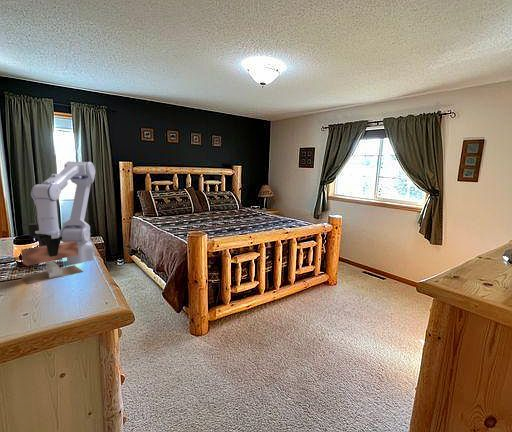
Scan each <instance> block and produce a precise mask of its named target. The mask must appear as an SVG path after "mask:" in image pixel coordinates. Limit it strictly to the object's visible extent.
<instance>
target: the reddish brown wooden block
mask: <svg viewBox="0 0 512 432" xmlns="http://www.w3.org/2000/svg"><path fill="white" fill-rule="evenodd" d="M20 252H21V260H22V264H23V265H24V266H26V267H28V266H33V265H37V264H42V263H43V264H44V263H46V262H48V261H56V260H61V259H67V257H71V256H76V255H78V244H77V242H75V241H68V242H62V241H61V242H60V244H59V249H58V254H57V256H52V257H50V255H49V253H48V249H47V246H46V245H45V246H39V247H34V248H31V247H28V248H24V249H23V248H22V249H21V251H20Z"/></svg>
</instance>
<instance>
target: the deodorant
mask: <svg viewBox="0 0 512 432" xmlns="http://www.w3.org/2000/svg"><path fill="white" fill-rule="evenodd" d="M27 227H28V234H29V235H28V236H31V237H34V238H36V239H37V240H38V241H39V246H43V244H42V242H41V240H40V239H39V237H38V235H43V234H40V233H39V234H36V233H35V231H39V223H38V222H32V223H28V225H27Z"/></svg>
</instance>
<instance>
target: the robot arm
mask: <svg viewBox="0 0 512 432" xmlns="http://www.w3.org/2000/svg"><path fill="white" fill-rule="evenodd" d="M95 175H96V168H95V165H94V164H93V162H92V161H69V160H68V161H67V162H66V163H64V168H63V169H62V170H61V171H60V172H59V173H51V174H50V177H48V178H47V179H46V180H44V181H43V182H42V183H41V184H40V183H38V184H35V185H34V186H33V187H32V188H31V192H30V196H31V199H33V203H34V206H36V212H37V213H36V214H37V221H38V222H37V223H39V231H35V233H36V234H39V233H40V234H43V235H38V237H39V239H40V240H41V242H42V244H43V246H45V245H46V246H47V249H48V253H49V255H50V257H52V256H57V254H58V249H59V244H60V243H62V242H68V241H75V242H77V244H78V255H76V256H71V257H66V263H67V264H69V265H76V264H78V265H79V264H83V263H86V262H91V261H95V254H94V246H93V242H92V241H90V238H91V226H90V224H89V223H87V222H86V221H85V219H86V213H87V207H88V202H89V195H90V190H91V185H92V184H93V183H94V181H95V177H96V176H95ZM69 180H70V181H71V182H72V183H73V184H75V185H76V186H75V192H74V197H73V203H72V208H71V212H70V216H69V217H70V218H69V219H68V220H67V221H65V222H63V224H62V225H61V226H62V227H61V229H60V226H59V216H58V215H59V213H58V205H57V200H59V198H60V196H61V192H62V191H63V190H64V189H65V188H66V187H67V186H68V181H69Z"/></svg>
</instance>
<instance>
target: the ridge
mask: <svg viewBox="0 0 512 432" xmlns="http://www.w3.org/2000/svg"><path fill="white" fill-rule="evenodd" d="M60 268H61V267H59V264H57V263H55V262H54V260H52V261H48V262H45V266H43V267H42V272H43V273H44V274H45V275H46V276H47V277H48V278H54V277H59V276H63V271H62V270H61V269H60ZM63 277H64V276H63ZM59 278H60V277H59ZM54 279H55V278H54Z"/></svg>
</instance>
